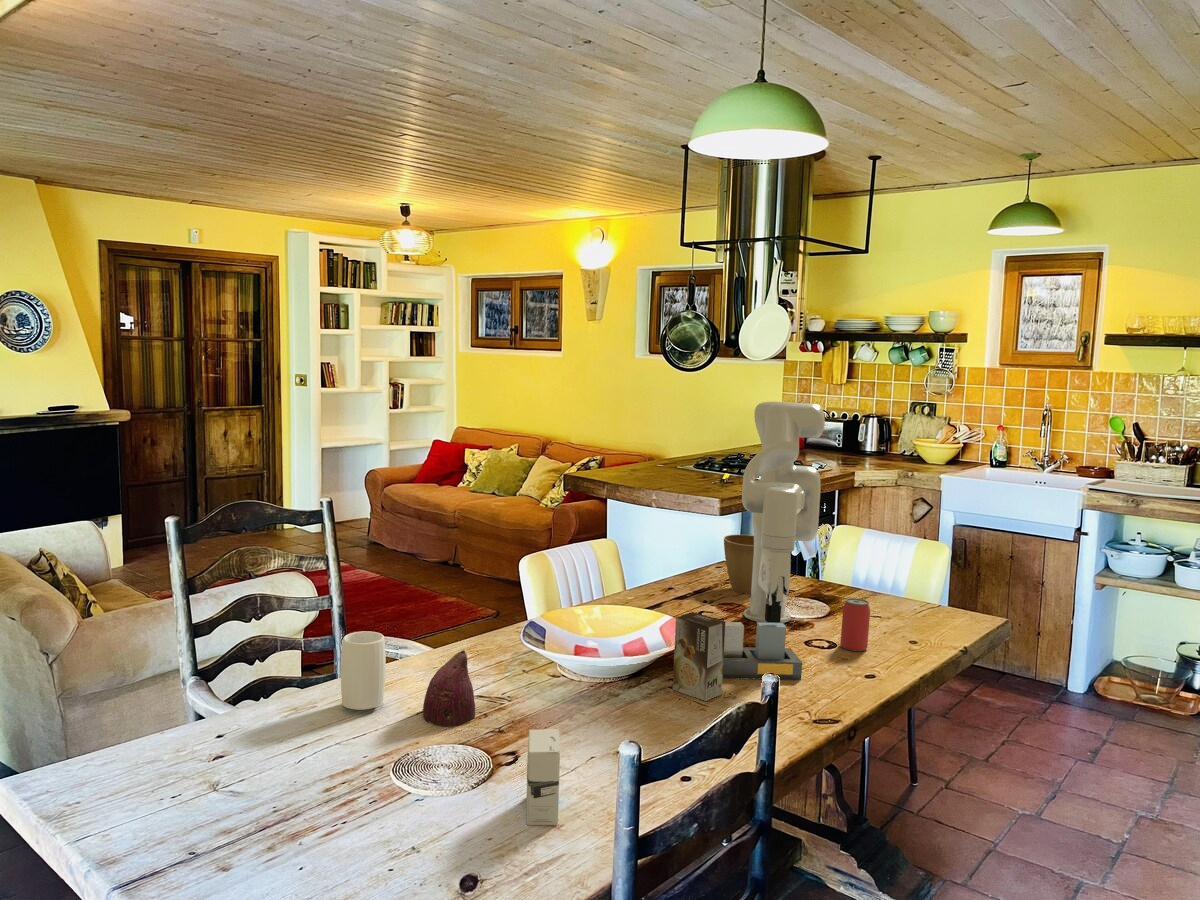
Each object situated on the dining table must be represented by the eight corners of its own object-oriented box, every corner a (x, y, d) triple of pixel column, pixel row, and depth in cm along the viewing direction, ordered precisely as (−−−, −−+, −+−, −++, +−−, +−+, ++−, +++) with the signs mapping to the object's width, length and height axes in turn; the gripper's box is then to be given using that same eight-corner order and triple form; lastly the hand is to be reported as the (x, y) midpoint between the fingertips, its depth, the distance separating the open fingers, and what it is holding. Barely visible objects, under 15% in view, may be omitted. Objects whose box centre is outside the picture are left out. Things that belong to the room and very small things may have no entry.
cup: (370, 695, 182) (371, 627, 181) (393, 708, 176) (394, 638, 175) (332, 706, 176) (332, 636, 175) (354, 720, 170) (354, 647, 169)
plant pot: (719, 595, 269) (723, 542, 267) (721, 582, 284) (724, 532, 282) (770, 599, 267) (773, 546, 265) (769, 586, 281) (772, 536, 279)
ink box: (525, 798, 144) (528, 727, 143) (556, 798, 145) (559, 727, 143) (525, 826, 136) (528, 751, 134) (558, 826, 136) (561, 751, 135)
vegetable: (480, 725, 178) (503, 655, 177) (455, 740, 168) (480, 665, 167) (435, 704, 181) (458, 634, 180) (408, 716, 171) (433, 643, 170)
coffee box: (723, 694, 191) (727, 621, 189) (705, 702, 186) (709, 627, 185) (688, 682, 197) (692, 611, 196) (670, 689, 193) (674, 616, 191)
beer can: (864, 644, 229) (868, 598, 227) (869, 653, 222) (873, 605, 221) (838, 642, 229) (841, 596, 228) (842, 651, 223) (846, 603, 221)
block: (754, 664, 207) (757, 622, 206) (780, 665, 208) (783, 623, 207) (757, 669, 204) (760, 626, 203) (783, 669, 205) (786, 627, 204)
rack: (696, 663, 210) (699, 617, 208) (790, 664, 211) (793, 619, 210) (704, 678, 200) (707, 630, 199) (802, 680, 202) (806, 632, 200)
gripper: (753, 534, 210) (748, 611, 212) (769, 548, 195) (764, 631, 197) (785, 535, 210) (780, 612, 212) (803, 550, 195) (797, 632, 197)
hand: (772, 621), depth 205 cm, fingers closed
